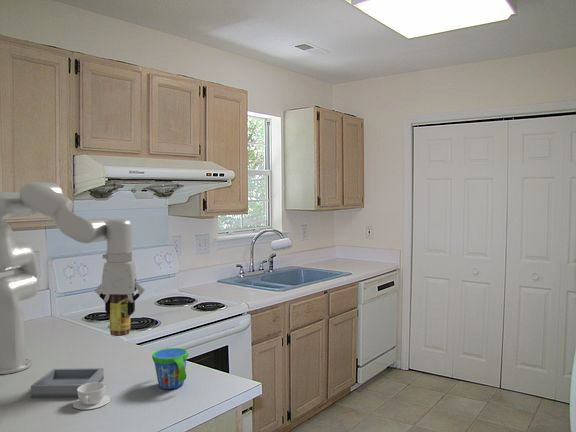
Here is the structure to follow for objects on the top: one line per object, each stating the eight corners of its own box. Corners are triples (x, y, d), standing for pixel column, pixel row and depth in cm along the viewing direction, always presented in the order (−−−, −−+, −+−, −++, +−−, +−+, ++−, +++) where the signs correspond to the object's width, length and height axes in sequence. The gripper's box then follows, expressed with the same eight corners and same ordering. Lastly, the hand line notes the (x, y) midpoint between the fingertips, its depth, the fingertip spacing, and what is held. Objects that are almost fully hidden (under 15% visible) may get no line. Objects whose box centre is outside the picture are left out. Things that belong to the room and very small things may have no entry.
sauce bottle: (124, 337, 156) (123, 274, 155) (105, 336, 157) (105, 273, 156) (134, 331, 162) (133, 271, 161) (117, 330, 164) (116, 270, 162)
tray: (31, 397, 145) (30, 386, 145) (53, 379, 159) (53, 368, 159) (86, 397, 145) (85, 385, 145) (103, 378, 159) (103, 368, 159)
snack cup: (146, 381, 157) (145, 349, 156) (178, 374, 163) (177, 343, 162) (163, 398, 144) (162, 363, 143) (197, 389, 150) (196, 356, 149)
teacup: (79, 397, 146) (79, 381, 146) (114, 395, 147) (114, 379, 147) (67, 412, 136) (66, 395, 136) (104, 410, 137) (104, 393, 137)
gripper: (87, 259, 155) (88, 316, 156) (143, 260, 155) (143, 317, 156) (96, 256, 162) (97, 311, 163) (149, 256, 162) (150, 311, 163)
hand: (120, 313), depth 159 cm, fingers closed on sauce bottle, 6 cm apart
